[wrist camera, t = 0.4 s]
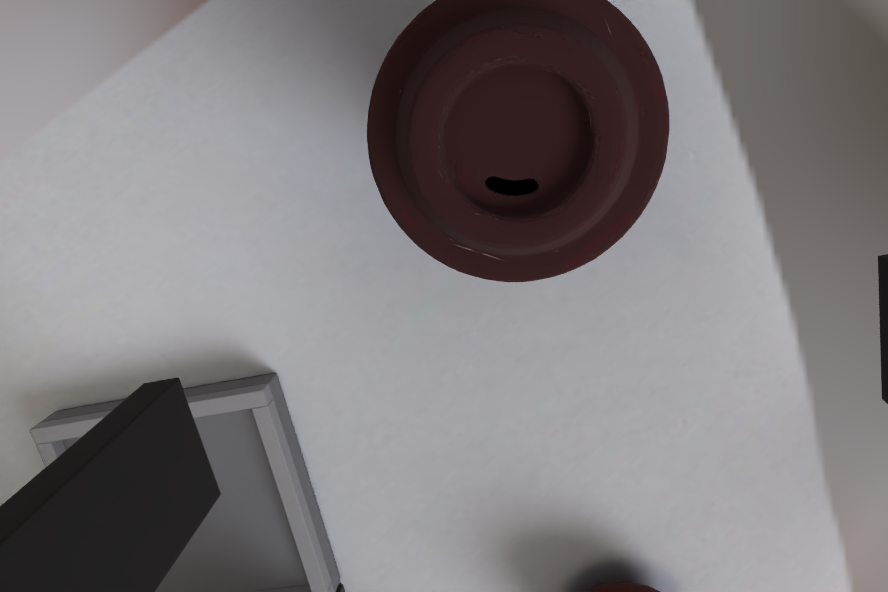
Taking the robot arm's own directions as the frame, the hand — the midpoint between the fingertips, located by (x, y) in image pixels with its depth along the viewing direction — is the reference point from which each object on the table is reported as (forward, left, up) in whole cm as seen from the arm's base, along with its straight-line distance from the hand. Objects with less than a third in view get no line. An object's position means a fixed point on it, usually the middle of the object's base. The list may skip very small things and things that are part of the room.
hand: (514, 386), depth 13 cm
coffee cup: (-4, +1, -25) cm, 25 cm away
